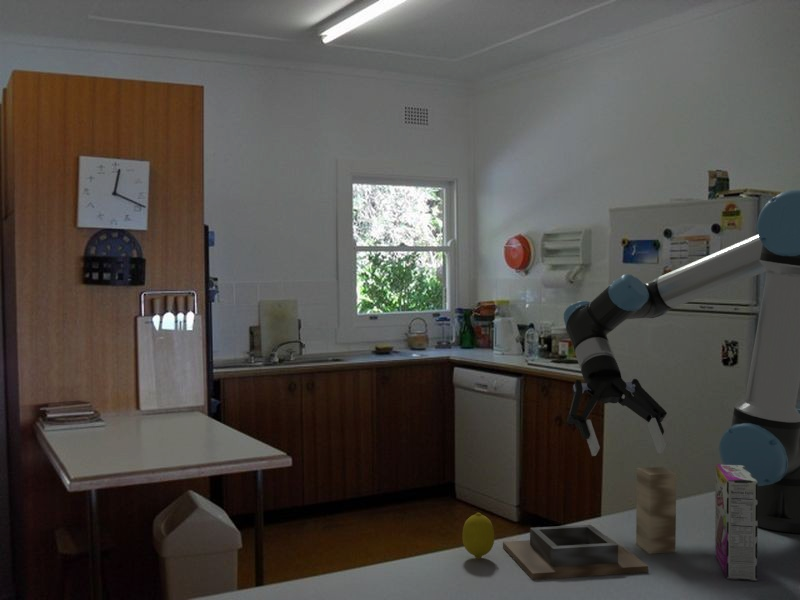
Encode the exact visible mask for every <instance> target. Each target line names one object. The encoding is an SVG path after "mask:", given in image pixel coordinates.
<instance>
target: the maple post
mask: <svg viewBox="0 0 800 600" xmlns="http://www.w3.org/2000/svg"><path fill="white" fill-rule="evenodd" d="M635 515H636V523H635V525H636V528H635V529H636V530H635V533H636V534H635V536H636V538H635V543H636V544H635V545H636V546H637V547H639V548H641V549H642V550H643V551H645V552H646V553H647V554H648V555H649V554H663V553H666V554H667V553H675V552H676V545H677V544H676V540H677V539H676V538H677V535H676V532H677V531H676V530H677V529H676V528H677V527H676V526H677V519H676V517H677V473H675V472H673V471H672V470H670V469H668V468H666V467H664V466H662V467H661V466H660V467H656V466H655V467H636V514H635Z"/></svg>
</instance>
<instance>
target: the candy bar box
mask: <svg viewBox="0 0 800 600" xmlns="http://www.w3.org/2000/svg"><path fill="white" fill-rule="evenodd" d="M714 468H715V471H714V472H715V473H714V474H715V480H714V481H715V485H714V487H715V488H714V489H715V491H714V493H715V495H714V496H715V497H714V498H715V505H714V507H715V512H714V513H715V515H714V516H715V517H714V519H715V520H714V521H715V526H714V527H715V528H714V529H715V537H714V538H715V539H714V540H715V546H714V548H715V549H714V551H715V555H714V556H715V558H716V560H717V562H718V564H719V565H720V568H721V570H722V571H723V573H724V575H725V577H726V579H728V580H732V581H733V580H734V581H750V582H751V581H753V582H758V527H759V526H758V505H757V504H758V498H757V494H758V482H757V480H756V479H755V478H754V477H753V476H752V475H751V474H750V472H749V471H748V470H747V469H746V468H745V467H744V466H742V465H724V464H723V463H719V464H715V467H714Z"/></svg>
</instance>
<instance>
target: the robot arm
mask: <svg viewBox="0 0 800 600" xmlns="http://www.w3.org/2000/svg"><path fill="white" fill-rule="evenodd" d="M756 230H757V231H756V232H757V234H755V235H752V236H751V237H748V238H745V239H744V240H740V241H739V242H736V243H734V244H731V245H730V246H727V247H724V248H722V249H720V250H718V251H716V252H713V253H711V254H709V255H706V256H704V257H702V258H700V259H697V260H694V261H693V262H690V263H688V264H686V265H683V266H681V267H678V268H677V269H674V270H671V271H670V272H667V273H665V274H663V275H660V276H658V277H656V278H653V279H650V280H649V281H647V282H644V283H643V282H642V280H640V279H639V278H638V277H637V276H633V274H630V273H624V274H622V275H621V276H620V277H618V278H617V279H616V280H613V281H612V282H611V283H610V284H609V285H608V287H606V288H605V289H604V290H603V291H602V292H601V293H600V294H598V295H597V296H596V297H595V298H594V299H593V300H592V301H588V300H579V301H576V303H574V304H573V303H571V304H570V305H568V306H567V308H566V309H565V310H564V313H563V321H564V326H565V330H566V331H565V332H567V335H568V337H569V341H570V342H571V345H572V348H573V352H574V355H575V358H576V360H577V363H578V366H579V368H580V372H581V375H582V378H583V381H584V382H582V381H581V380H580V379H576V380H575V381H574V384H573V385H572V395H573V397H572V400H571V404H570V407H569V412H568V415H567V419H566V423H567V424H568V425H575V428H576V429H577V430H579V432H580V436H581V438H582V439H583V440H586V442H587V444H588V445H587V446H588V447H589V451H590V455H591V457H596V456H597V455H598V453H599V451H600V448H601V446H600V444H599V440H598V438H597V435H596V432H595V429H594V427H593V424H592V420H591V419H588V418H589V416H590V414H591V413H592V411H593V410H594V408H595V407H596V405H597V403H598V402H599V403H602V404H609V403H610V404H620V405H621V406H623V407H626V408H628V409H629V410H631V412H633V413H635V414H636V415H638V416H639V417H640V418H642V420H644V421H645V422H648V423H647V425H646V427H647V429H648V432H649V434H650V437H651V439H652V442H653V444H654V448H655V449H656V452H657V454H658V455H659V454H663V452H664V451H665V449H666V447H667V444H666V441H665V439H664V434H665V429H664V428H663V424H662V422H664V419H665V418H666V416H667V411H666V410H665V409H664V408H663V407H662V406H661V405H660V404H659V403H658V401H656V400H655V399H654V398H653V397H652V396H651V395H650V394H649V393H648V392H647V391H646V390H645V389H644V388H643V387H642V385H641V383H640V381H639V380H638V379H637V378H633V379H632V381H628V382H626V381H625V380H624V379H623V378H622V373H621V370H620V367H619V365H618V363H617V360H616V358H615V357H616V356H615V354H614V351H613V349H612V347H611V344H610V342H609V338H608V336H607V335H608V334H609V333H611V332H612V331H614V329H616V328H617V327H618V326H619V325H621V324H622V323H623V322H625V321H627V320H634V319H654V318H659V317H662V316H664V315H665V314H667V313H668V311H671V310H673V309H674V308H677V307H679V306H681V305H684V304H687V303H690V302H692V301H694V300H697V299H700V298H702V297H705V296H707V295H710V294H713V293H715V292H718V291H720V290H722V289H726V288H728V287H730V286H733V285H735V284H737V283H740V282H743V281H745V280H748V279H750V278H754V277H755V276H758V275H761V274H763V273H766V274H765V275H766V276H765V280H764V287H763V293H762V297H761V304H760V310H759V314H758V322H757V327H756V333H755V338H754V342H753V343H754V345H753V350H752V355H751V362H750V367H749V372H748V379H747V386H746V390H745V397H743V398H742V399H741V400H740V401H738V402H736V403H735V404H734V407H733V415H732V419H731V424H730V425H731V426H730V427H729V428H727V429H726V430H725V432H723V434H722V436H721V438H720V441H719V445H718V452H719V453H718V454H719V457H720V460H721V464H724V465H742V466H744V467H745V468H746V469H747V470H748V471H749V472H750V474H751V475H752V476H753V477H754V478H755V479H756V480H757V482H758V494H757V498H758V504H757V505H758V527H760V528H762V529H766V530H771V531H775V532H782V533H791V532H792V534H793V533H794V534H800V408H797V407H796V406H797V400H798V393H799V389H800V189H796V190H795V189H793V190H787V191H784V192H781V193H778V194H777V195H775V196H774V197H772V198H771V199H769V200H768V201H767V202H766V203H765V205H764V206H763V207H762V209H761V211H760V212H759V215H758V218H757V223H756ZM585 391H586V392H587V393H588V394H589V395H591V397H590V400H589V401H588V403H587V405H586V406H585V408H584V409H583V411H582V413H581V414H580V415H578V411H579V408H580V407H579V406H580V403H581V399H582V395H583V394H584V392H585ZM623 396H624V398H623Z"/></svg>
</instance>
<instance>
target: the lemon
mask: <svg viewBox="0 0 800 600" xmlns="http://www.w3.org/2000/svg"><path fill="white" fill-rule="evenodd" d="M461 538H462V545H463V547H464V548H465V550H466V551H467V552H468V553H469V554H470V555H472V556H474V557H475V558H476V559H477V560H478V559H479V560H480V559H481V558H482V557H483V556H486V555H487V554H488V553H490V552H491V550H492V548H493V547H494V543H495V530H494V526H493V523H492V521H491V520H490V519H489V518H488V516H485V515H484V514H482V513H480V512H476V513H475V514H472V515H470V517H468V518H467V519H466V520H465V522H464V525H463V527H462V536H461Z"/></svg>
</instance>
